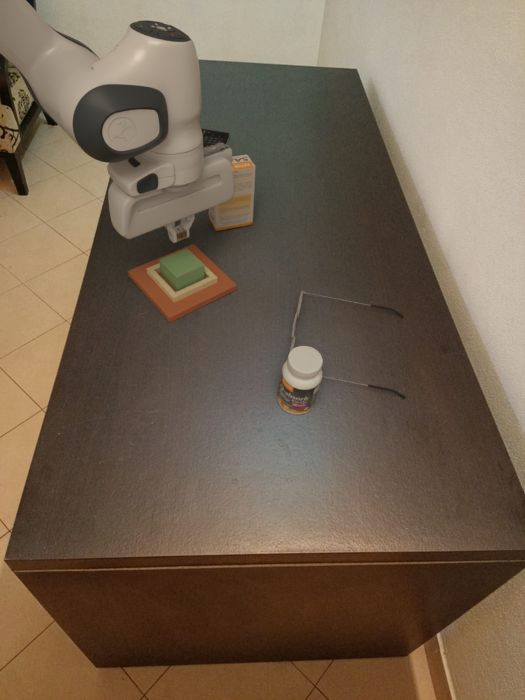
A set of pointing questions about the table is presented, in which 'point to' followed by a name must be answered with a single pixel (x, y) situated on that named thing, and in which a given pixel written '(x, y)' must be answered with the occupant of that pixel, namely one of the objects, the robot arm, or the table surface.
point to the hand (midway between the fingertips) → (179, 238)
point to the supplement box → (237, 198)
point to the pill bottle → (300, 380)
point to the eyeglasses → (348, 301)
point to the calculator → (213, 137)
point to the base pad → (184, 299)
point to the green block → (181, 269)
